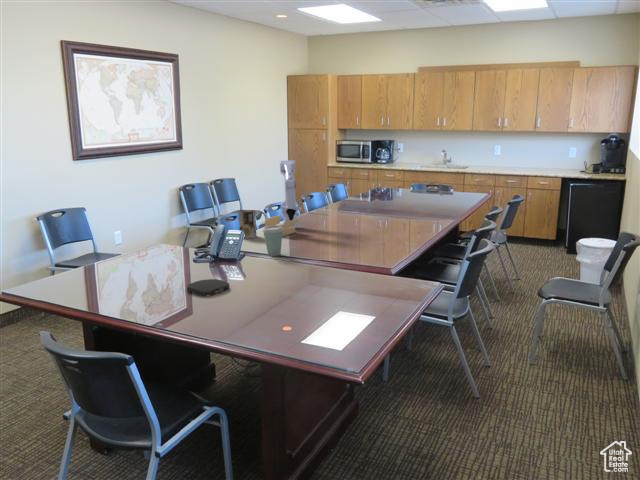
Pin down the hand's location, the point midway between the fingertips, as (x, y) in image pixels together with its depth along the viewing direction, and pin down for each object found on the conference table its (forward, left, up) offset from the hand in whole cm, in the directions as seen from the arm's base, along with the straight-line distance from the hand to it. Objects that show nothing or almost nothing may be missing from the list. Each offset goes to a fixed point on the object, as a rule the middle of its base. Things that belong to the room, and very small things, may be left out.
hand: (291, 221), depth 322 cm
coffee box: (+17, -20, -9) cm, 28 cm away
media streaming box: (+104, +33, -9) cm, 110 cm away
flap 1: (0, -15, -4) cm, 16 cm away
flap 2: (0, -3, -4) cm, 5 cm away
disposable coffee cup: (+43, +20, -9) cm, 48 cm away
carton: (0, -9, -9) cm, 13 cm away
